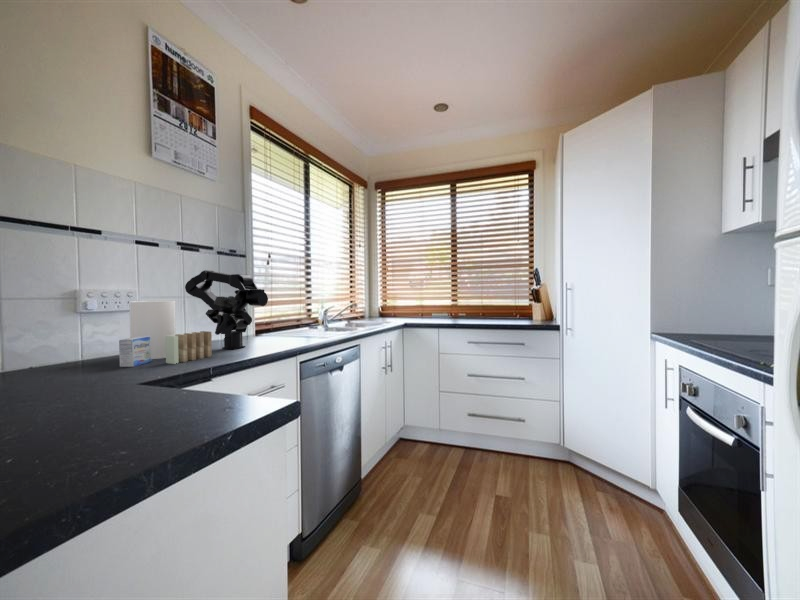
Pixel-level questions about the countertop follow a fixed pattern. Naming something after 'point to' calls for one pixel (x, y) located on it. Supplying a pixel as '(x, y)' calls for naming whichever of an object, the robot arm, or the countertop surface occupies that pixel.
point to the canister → (153, 323)
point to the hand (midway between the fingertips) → (216, 334)
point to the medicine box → (134, 351)
